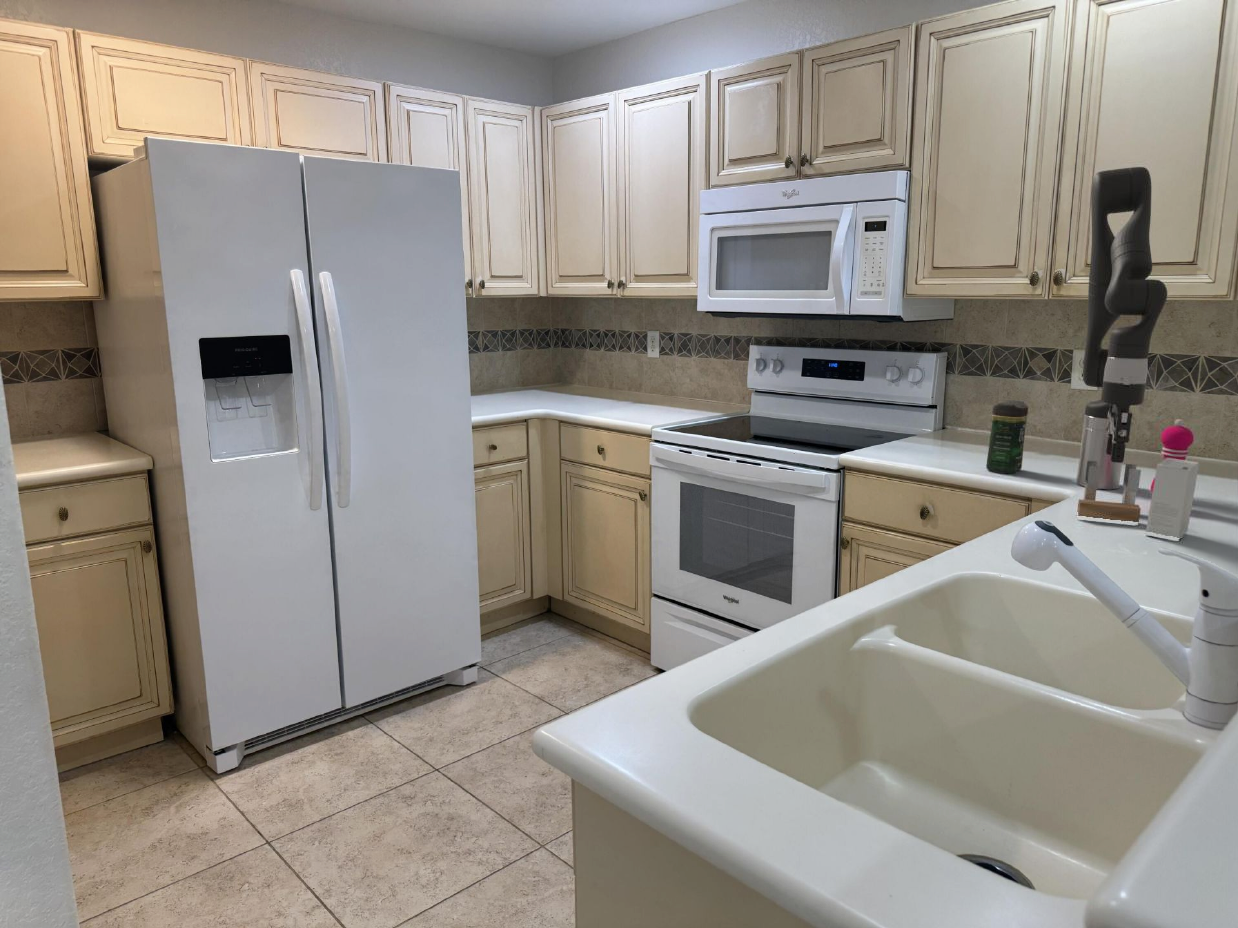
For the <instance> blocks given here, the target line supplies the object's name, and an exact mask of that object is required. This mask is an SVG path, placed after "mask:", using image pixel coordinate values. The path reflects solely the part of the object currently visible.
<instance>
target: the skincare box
mask: <svg viewBox="0 0 1238 928" xmlns="http://www.w3.org/2000/svg"><path fill="white" fill-rule="evenodd" d="M1199 468H1200V463H1199V462H1198V461H1192V460H1191V461H1190V460H1187V459H1185V460H1178V459H1173V458H1166V459H1164V460H1162V461H1160V462H1159V463H1158V464H1157V465H1156V469H1155V470H1156V471H1155V476H1154V478H1155V482H1154V487H1153V493H1152V492H1151V493H1152V494H1151V499H1150V507H1149V510H1148V511H1149V512H1148V515H1147V516H1148V518H1147V522H1146V523H1147V524H1146V529H1145V530H1146V531H1147V532H1153V533H1156V534H1161V535H1165V536H1173V537H1177V538H1181V537H1182V536H1183V535H1184V534H1185V533H1186V532H1187V533H1188V531H1189V524H1190V518H1191V513H1192V507H1193V501H1194V496H1195V490H1196V484H1197V478H1198V472H1199ZM1146 531H1145V532H1146ZM1187 533H1186V534H1187ZM1186 534H1185V535H1186ZM1185 535H1184V536H1185ZM1184 536H1183V537H1184ZM1183 537H1182V538H1183Z"/></svg>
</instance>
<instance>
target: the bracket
mask: <svg viewBox="0 0 1238 928" xmlns="http://www.w3.org/2000/svg"><path fill="white" fill-rule="evenodd" d="M1097 463H1098V461H1089V460H1087V465H1086V474H1085V486H1084V489H1083V490H1084V492H1083V499H1082V500H1093V501H1096V496H1097V490H1099V489H1098V484H1099V476H1100V468H1101V467H1100V466H1097ZM1137 466H1138V465H1137V463H1128V462H1127V463H1125V467H1124V473H1123V482H1122V486H1123V493H1122V499H1121V503H1125V504H1135V505H1136V499H1137V498H1136V497H1137V493H1139V488H1140V487H1139V486H1140V482H1141V481H1140V479H1141V475H1142V474H1141V472H1142V470H1141V469H1138V468H1137Z"/></svg>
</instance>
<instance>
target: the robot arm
mask: <svg viewBox="0 0 1238 928" xmlns="http://www.w3.org/2000/svg"><path fill="white" fill-rule="evenodd" d="M1090 193H1091V195H1090V196H1091V199H1090V201H1091V202H1090V203H1091V205H1090V207H1091V210H1090V211H1091V213H1090V214H1091V252H1090V262H1089V263H1090V264H1089V275H1088V294H1087V295H1088V297H1087V300H1088V302H1087V304H1088V305H1087V328H1086V329H1087V330H1086V339H1085V346H1084V348H1085V349H1084V355H1083V366H1082V379H1083V383H1084V384H1085V385H1086V387H1087V386H1088V387H1091V388H1093V387H1094V388H1101V396H1100V400H1095V401H1090V402H1089V403H1086V405H1085V407H1084V408H1085V409H1084V419H1083V425H1082V426H1083V427H1082V433H1081V434H1082V435H1081V441H1080V444H1081V445H1080V452H1079V460H1078V465H1077V466H1078V467H1077V474H1076V482H1075V483H1076V484H1077V485H1078V486H1081V487H1085V474H1086V465H1087V460H1089V461H1098V463H1097V466H1100V467H1101V468H1100V476H1099V484H1098V489H1097V490H1115V489H1119V487H1120V482H1121V481H1120V480H1121V473H1122V466H1123V463H1124V461H1125V460H1124V459H1125V452H1126V445H1127V444H1129V442H1130V434H1131V425H1132V421H1133V413H1132V412H1130V407H1131V406H1140V405H1142V404H1143V403H1144V402H1145V401H1144V400H1145V399H1144V398H1145V394H1146V393H1145V392H1146V385H1147V378H1148V371H1149V370H1148V367H1149V366H1148V360H1149V359H1148V358H1149V351H1150V344H1151V339H1152V338H1151V337H1152V336H1153V332H1154V329H1155V326H1156V324H1157V321H1158V319H1159V317H1160V315H1161V313H1162V311H1163V309H1164V308H1165V305H1166V302H1167V298H1168V289H1167V287H1166V284H1165V283H1164V282H1163V281H1162V280H1159V279H1152V278H1151V279H1150V278H1149V276H1151V274H1152V272H1153V262H1152V261H1153V260H1152V252H1151V245H1150V244H1151V243H1150V232H1151V231H1150V230H1151V220H1152V215H1151V214H1152V178H1151V174H1150V171H1149V170H1148V168H1147V167H1145V166H1133V167H1132V166H1131V167H1125V168H1124V167H1123V168H1116V169H1110V170H1102V171H1098V172H1097V173H1095V175H1094V176H1093V179H1092V184H1091V192H1090ZM1129 212H1133V213H1132V215H1131V216H1130V218H1129V219H1128V220H1127V222H1126V223H1125V224H1124V225H1123V227H1122V228H1121V229H1120V230H1119V232H1117V235H1114V232H1113V231H1112V229H1111V227H1110V226H1111V225H1109V224H1110V223H1109V220H1108V216H1109V215H1111V214H1119V213H1120V214H1121V213H1129ZM1148 278H1149V279H1148ZM1121 316H1141V317H1140V319H1139V320H1138V321H1137V322H1136V323H1135V324H1133V325H1128V326H1121V327H1116V328H1115V329H1112V330H1111V332H1110V336H1109V345H1108V348H1102V343H1103V340H1104V339H1105V337H1106V335H1107V333H1108V332H1109V330H1110V329H1111V327H1112V326H1114V324H1115V323H1116V321H1117V320H1118V319H1119V318H1120V317H1121Z"/></svg>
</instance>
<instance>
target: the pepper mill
mask: <svg viewBox="0 0 1238 928" xmlns="http://www.w3.org/2000/svg"><path fill="white" fill-rule="evenodd" d="M1184 425H1185V421H1184V420H1183V419H1181V418H1178V419H1176V420H1175V421H1174V425H1172V426H1168V427H1167V428H1164V430H1163V431H1162V432H1161V434H1160V435H1161V436H1160V441H1161V443H1162V444H1163V447H1162V448H1161V449H1162V450H1161V454H1162V455H1163V458H1162V459H1163V460H1164V459H1166V458H1173V459H1178V460H1186V458H1187V457H1188V456H1189V455H1190V454H1189V452H1190V450H1189V447H1190V446H1192V445H1193V443H1194V439H1195V438H1194V433H1193V432H1192V431H1191V429H1189V428H1188V427H1185V426H1184ZM1163 460H1162V461H1163ZM1154 482H1155V477H1154V478H1153V480H1152V481H1151V485H1150V491H1151V493H1153V487H1154Z"/></svg>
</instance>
